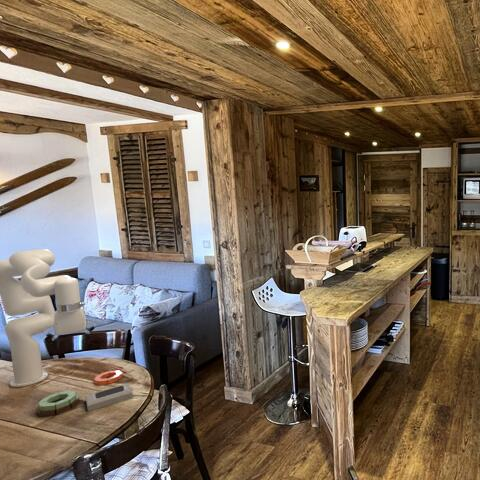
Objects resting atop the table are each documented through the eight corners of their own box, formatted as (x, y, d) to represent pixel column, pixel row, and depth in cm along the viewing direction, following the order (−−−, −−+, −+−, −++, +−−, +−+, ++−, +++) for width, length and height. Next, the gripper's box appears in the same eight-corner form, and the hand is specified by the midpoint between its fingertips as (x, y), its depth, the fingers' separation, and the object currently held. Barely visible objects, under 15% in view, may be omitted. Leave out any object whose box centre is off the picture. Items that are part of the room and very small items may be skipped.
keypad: (85, 394, 154) (128, 381, 164) (86, 401, 154) (128, 389, 165) (87, 403, 147) (131, 390, 158) (87, 411, 148) (132, 397, 158)
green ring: (35, 404, 148) (35, 400, 148) (70, 392, 158) (70, 388, 157) (44, 413, 142) (43, 409, 142) (80, 400, 152) (79, 396, 152)
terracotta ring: (91, 380, 171) (91, 377, 171) (116, 372, 180) (116, 368, 180) (100, 387, 166) (99, 383, 166) (125, 377, 175) (125, 374, 175)
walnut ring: (34, 410, 148) (33, 405, 148) (72, 396, 158) (71, 391, 158) (43, 419, 142) (43, 414, 142) (82, 404, 152) (82, 400, 152)
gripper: (95, 301, 159) (99, 337, 162) (41, 308, 149) (46, 346, 151) (95, 305, 154) (98, 342, 156) (38, 313, 143) (43, 353, 145)
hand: (72, 344), depth 153 cm, fingers open, 9 cm apart
